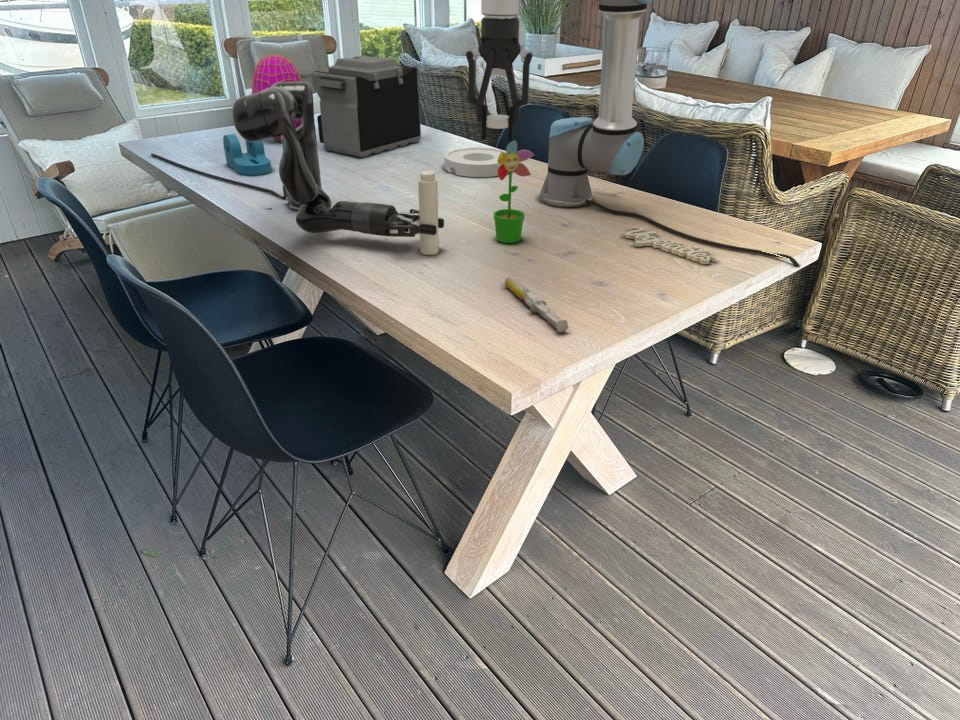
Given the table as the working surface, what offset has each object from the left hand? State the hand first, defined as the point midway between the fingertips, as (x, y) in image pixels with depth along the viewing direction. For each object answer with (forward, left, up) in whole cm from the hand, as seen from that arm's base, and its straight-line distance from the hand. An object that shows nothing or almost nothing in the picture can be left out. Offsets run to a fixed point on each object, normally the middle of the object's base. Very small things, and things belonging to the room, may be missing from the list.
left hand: (439, 226), depth 163 cm
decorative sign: (+38, +41, -7) cm, 56 cm away
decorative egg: (-126, +40, -7) cm, 132 cm away
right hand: (+14, +4, +22) cm, 27 cm away
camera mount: (-99, +9, -7) cm, 99 cm away
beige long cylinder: (-2, -1, -7) cm, 7 cm away
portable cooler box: (-95, +58, -7) cm, 111 cm away
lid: (+14, +4, +26) cm, 30 cm away
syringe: (+35, -8, -7) cm, 37 cm away
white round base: (-45, +63, -7) cm, 78 cm away
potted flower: (+6, +19, -7) cm, 21 cm away
